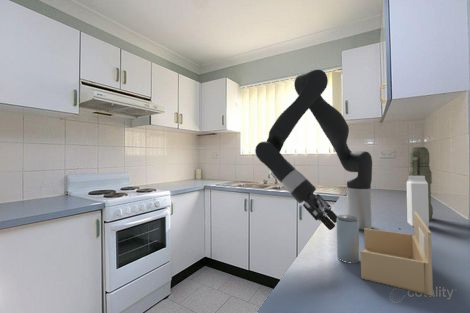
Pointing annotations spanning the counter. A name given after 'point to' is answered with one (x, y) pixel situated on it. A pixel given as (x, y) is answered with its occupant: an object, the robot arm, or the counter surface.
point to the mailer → (399, 258)
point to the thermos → (422, 169)
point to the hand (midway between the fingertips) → (335, 224)
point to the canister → (348, 238)
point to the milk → (417, 199)
